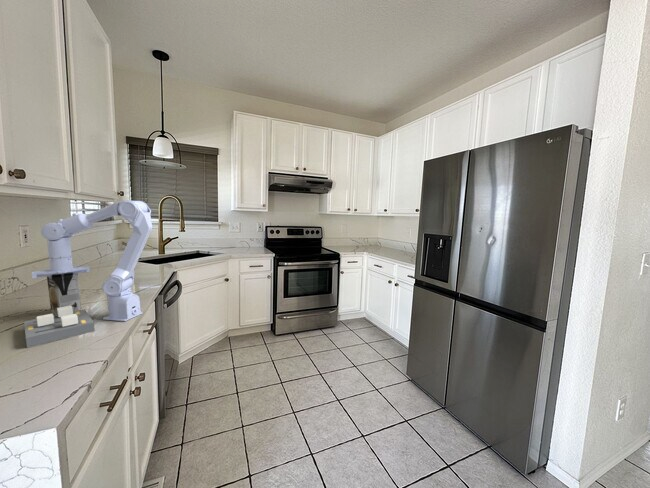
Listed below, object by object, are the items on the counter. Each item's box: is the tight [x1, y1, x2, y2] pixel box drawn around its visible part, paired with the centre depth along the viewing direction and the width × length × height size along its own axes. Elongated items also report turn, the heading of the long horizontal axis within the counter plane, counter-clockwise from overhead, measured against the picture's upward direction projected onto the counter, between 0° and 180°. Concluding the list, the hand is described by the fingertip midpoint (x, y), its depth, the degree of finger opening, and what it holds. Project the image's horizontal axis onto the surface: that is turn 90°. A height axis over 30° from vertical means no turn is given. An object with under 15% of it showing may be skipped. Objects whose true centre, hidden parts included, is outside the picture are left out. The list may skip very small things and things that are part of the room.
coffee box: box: [46, 272, 82, 315], centre depth 102 cm, size 9×6×16 cm
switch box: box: [23, 309, 96, 349], centre depth 88 cm, size 15×17×3 cm
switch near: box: [61, 314, 78, 327], centre depth 86 cm, size 4×3×2 cm
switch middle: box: [36, 312, 54, 327], centre depth 85 cm, size 4×3×2 cm
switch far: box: [57, 306, 73, 317], centre depth 93 cm, size 4×3×2 cm
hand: (64, 294), depth 95 cm, fingers closed
